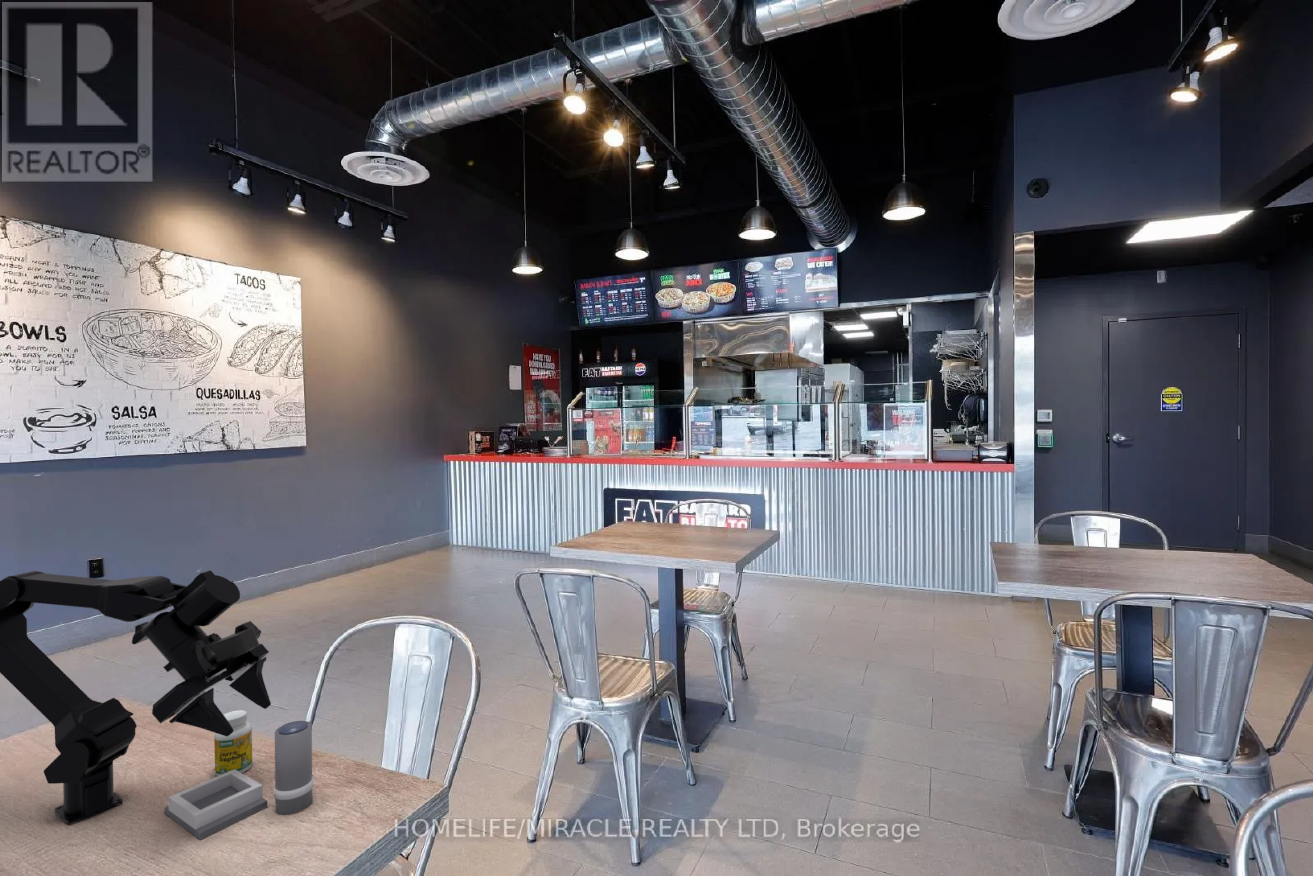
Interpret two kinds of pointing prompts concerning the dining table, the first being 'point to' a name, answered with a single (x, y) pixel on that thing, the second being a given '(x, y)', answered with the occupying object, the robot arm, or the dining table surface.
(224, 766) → the supplement bottle
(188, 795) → the grey white tray
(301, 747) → the lens
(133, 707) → the dining table surface
